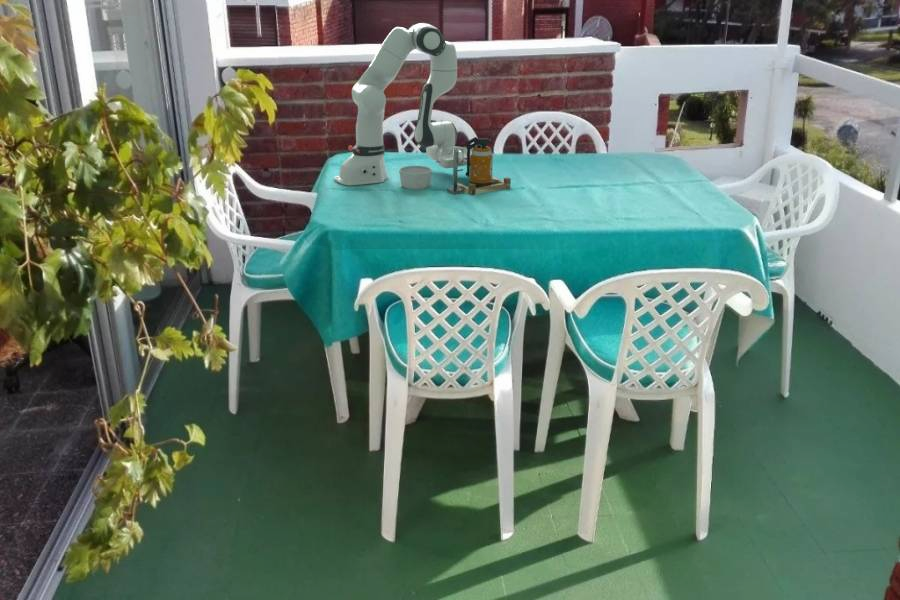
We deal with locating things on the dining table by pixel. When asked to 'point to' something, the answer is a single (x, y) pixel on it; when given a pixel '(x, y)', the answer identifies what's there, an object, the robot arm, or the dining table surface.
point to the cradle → (498, 186)
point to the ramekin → (415, 177)
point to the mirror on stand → (457, 158)
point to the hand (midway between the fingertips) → (472, 163)
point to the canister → (479, 162)
